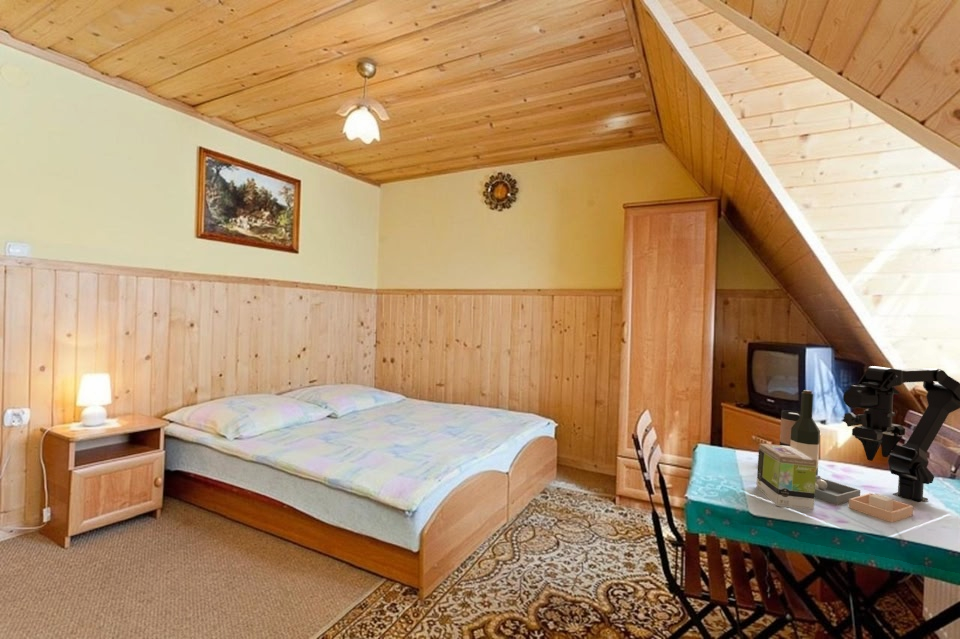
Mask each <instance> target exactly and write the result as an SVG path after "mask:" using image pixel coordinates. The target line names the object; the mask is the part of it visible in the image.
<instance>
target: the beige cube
mask: <svg viewBox="0 0 960 639" xmlns="http://www.w3.org/2000/svg"><path fill="white" fill-rule="evenodd" d="M872 494H873V495H870V496H869V505H871V506H874V507H877V508H880V509H883V510H886V511H889V512H893V500H894V498H893V497H890V496H889V497H888V496H885V495H883V494H882V495H881V494H879V493H872Z"/></svg>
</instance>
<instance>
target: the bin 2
mask: <svg viewBox="0 0 960 639" xmlns="http://www.w3.org/2000/svg"><path fill="white" fill-rule="evenodd" d="M873 494H874V493H872V492H869V493H866V494H862V495H860V496H858V497H854V498H851V499H849V502H848V509H851V510H855V511H858V512H861V513H864V514H866V515H869V516H872V517H874V518H877V519H880V520H884V521H886V522H889V523H895V522H898V521H900V520H901V521H902V520H903V519H906V518H909V517H912V516H913V515H914V506H913V505H911V504H907V503H904V502H901V501H897V500H895V499H893V512H889V511H886V510H883V509H880V508H877V507H874V506H871V505H869V496H870V495H873Z"/></svg>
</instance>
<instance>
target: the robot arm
mask: <svg viewBox="0 0 960 639" xmlns="http://www.w3.org/2000/svg"><path fill="white" fill-rule="evenodd" d="M904 383H905V384H906V383H922V384H923V385H922V388H923V389H924V390H925V391H926V392H927V393H926V396H925V397H926V402H927V407H926V409H925V410H924V411H923V414H922V415H921V417H920V419H919V421H918V422H917V425H916V426H915V427H914V429H913V431H912V433H911V435H910V436H909V438H908V440H907V441H906V443H905V444H902V445H900V444H898V443H899V442H900V440H901V439H903V436H905V434H906V429H905V427H904V426H903V425H901V424H896V423H893V417H896V412H895V411H894V412H893V405H894V395H899V394H900V391H898V389H896V388H895V387H900V386H902V385H903V384H904ZM849 386H850V387H849V389H847V390H845V391H844V394H842V398H843V402H844V404H845V405H846V406H847V407H848V408H850V409H865V410H863V414H854V412H847V413H844V416H843V420H842V422H844V423H845V424H846V426H847V427H853V426H855V427H853V428H852V429H851V436H853V437H854V438H855V439H857V440H859V441H860V443H862V447H863V450H864V453H865V456H866V460H867V461H869V462H870V461H871V462H872V461H873V460H874V459H875V457H876V455H877V452H878V451H879V449H880V448H881V456H882V457H883V458H887V463H888V466H889V470H890V474H892V475H895V476H898V483H897V484H898V486H897V492H894V493H892V495H893V496H896V497H900V498H903V499H906V500H910V501H913V502H915V503H916V502H917V503H921V502H922V503H923V502H926V501H929V498H927V497H925V496H924V488H925V486H924V484H925V485H930V484H933V482H934V479H935V476H934V475H933V473H932V472H931V470H930V469H929V468H928V465H929V458H928V454H927V453H928V451H929V449H930V447H931V446H932V444H933V442H934V440H935V439H936V437H937V434H938V433H939V431H941V430H940V429H941V428H942V426H943V425H944V423H945V421H946V419H947V418H948V416H949V415H950V414H951V413H953V412H955V411H957V410H959V409H960V381H957V380H956V379H954V378H953V377H952V376H950V375H948V374H947V372H946V371H945V370H943V369H941V368H940V369H939V368H934V367H933V368H932V367H923V368H900V369H899V368H898V369H897V368H893V367H892V368H891V367H884V366H883V367H882V366H875V365H874V366H873V365H872V366H871V365H870V366H868V367H867V370H865V372H864V373H863V375H862V376H861V378H859V380H858V382H857V383H856V384H855V385H854V384H850V385H849Z"/></svg>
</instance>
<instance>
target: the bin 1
mask: <svg viewBox="0 0 960 639" xmlns="http://www.w3.org/2000/svg"><path fill="white" fill-rule="evenodd" d="M818 479H822V480H824V481H825V482H826V483H827V488H826V489H825V490H820V489H815V496H814V499H818V500H822V501H825V502H827V503H830V504H833V505H842V504H845V503H849V499H851V498H854V497H858V496H861V489H858V488H855V487H851V486H849V485H846V484H842V483H839V482H835V481H832V480H829V479H826V478H823V477H822V476H820V475H818V476H817V475H816V480H818Z"/></svg>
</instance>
